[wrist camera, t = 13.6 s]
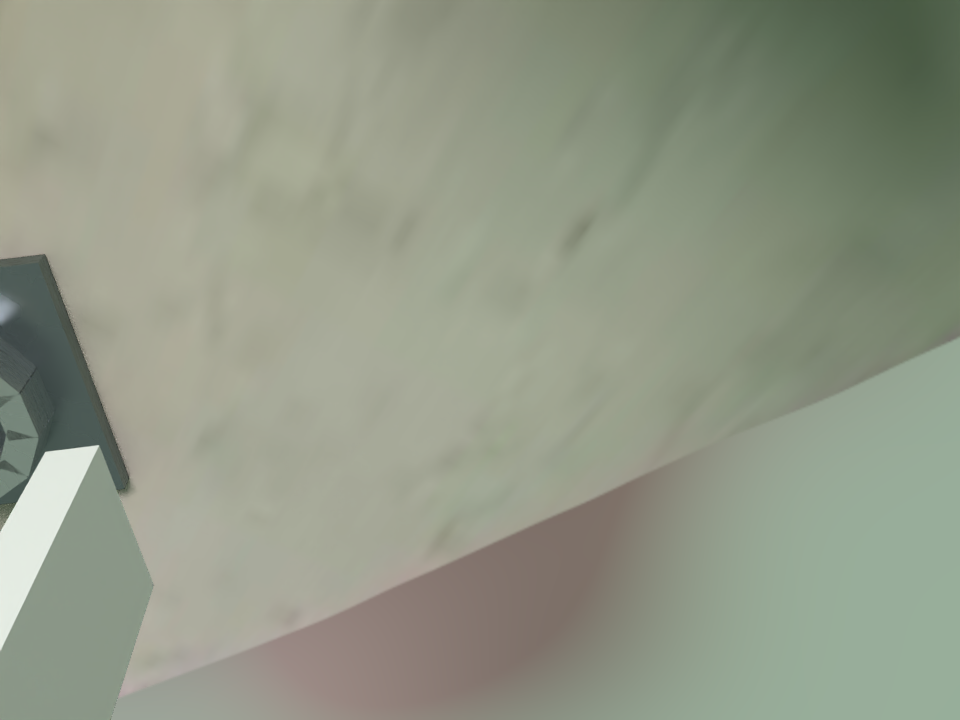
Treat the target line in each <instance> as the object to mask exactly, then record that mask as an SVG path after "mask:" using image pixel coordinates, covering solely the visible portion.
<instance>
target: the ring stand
mask: <svg viewBox="0 0 960 720" xmlns="http://www.w3.org/2000/svg"><path fill="white" fill-rule="evenodd" d="M97 445H99V446H100V449H101V451H102V454H103V456H104V459H105V461H106V464H107V467H108V469H109V472H110V474H111V477H112V479H113V482H114V484H115V487H116V490H119V489H125V487H126V484H127V482H128V479H129V476H128V473H127V471H126V468H125V466H124V463H123V460H122V458H121V455H120V452H119V450H118V447H117V444H116V442H115V439H114V436H113V434H112V431H111V428H110V426H109V423H108V420H107V418H106V415H105V412H104V410H103V407H102V404H101V402H100V399H99V397H98V394H97V391H96V389H95V386H94V383H93V381H92V378H91V375H90V373H89V370H88V367H87V365H86V362H85V359H84V357H83V354H82V351H81V349H80V346H79V343H78V341H77V338H76V336H75V333H74V330H73V328H72V325H71V322H70V320H69V317H68V314H67V312H66V309H65V306H64V304H63V301H62V298H61V296H60V293H59V290H58V288H57V285H56V282H55V280H54V277H53V274H52V272H51V269H50V267H49V264H48V261H47V259H46V256H45V254H43V255H35V256H27V257H19V258H10V259H2V260H0V504H7V503H15V502H18V500H19V498H20V496H21V494H22V493H23V491H24V489H25V487H26V485H27V484H28V482H29V480H30V478H31V477H32V475H33V473H34V471H35V469H36V468H37V466H38V464H39V462H40V461H41V459H42V457H43V455H44V453H45V452H48V451H56V450H64V449H72V448H80V447H88V446H97Z"/></svg>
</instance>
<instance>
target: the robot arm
mask: <svg viewBox="0 0 960 720" xmlns="http://www.w3.org/2000/svg"><path fill="white" fill-rule="evenodd" d="M153 586H154V585H153V582H152V580H151V577H150V574H149V572H148V569H147V567H146V564H145V562H144V559H143V556H142V554H141V551H140V549H139V546H138V544H137V541H136V538H135V536H134V533H133V531H132V528H131V526H130V523H129V520H128V518H127V515H126V513H125V510H124V508H123V505H122V502H121V500H120V497H119V495H118V492H117V490H116V487H115V484H114V482H113V479H112V477H111V474H110V472H109V469H108V467H107V464H106V461H105V459H104V456H103V454H102V451H101V449H100V446H99V445H97V446H88V447H80V448H72V449H64V450H56V451H48V452H45V453H44V455H43V457H42V459H41V461H40V462H39V464H38V466H37V468H36V469H35V471H34V473H33V475H32V477H31V478H30V480H29V482H28V484H27V485H26V487H25V489H24V491H23V493H22V494H21V496H20V498H19V500H18V502H17V503H16V505H15V507H14V509H13V510H12V512H11V514H10V516H9V518H8V519H7V521H6V523H5V525H4V527H3V528H2V530H1V532H0V720H111V717H112V714H113V711H114V708H115V705H116V701H117V699H118V695H119V692H120V689H121V686H122V683H123V680H124V677H125V674H126V670H127V667H128V664H129V661H130V658H131V655H132V652H133V649H134V645H135V642H136V639H137V636H138V633H139V630H140V627H141V623H142V620H143V617H144V614H145V611H146V608H147V605H148V602H149V598H150V595H151V592H152V589H153Z"/></svg>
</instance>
